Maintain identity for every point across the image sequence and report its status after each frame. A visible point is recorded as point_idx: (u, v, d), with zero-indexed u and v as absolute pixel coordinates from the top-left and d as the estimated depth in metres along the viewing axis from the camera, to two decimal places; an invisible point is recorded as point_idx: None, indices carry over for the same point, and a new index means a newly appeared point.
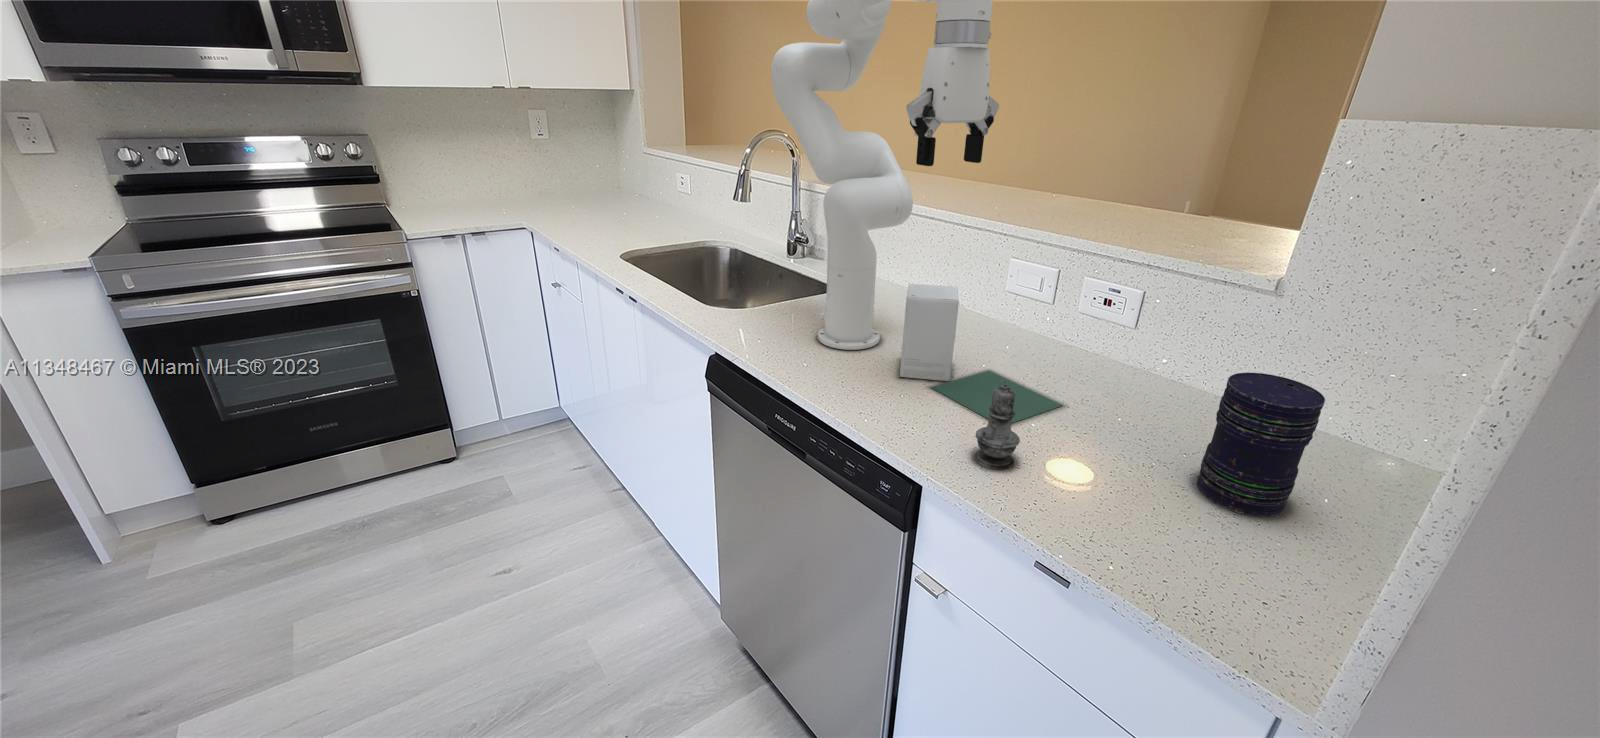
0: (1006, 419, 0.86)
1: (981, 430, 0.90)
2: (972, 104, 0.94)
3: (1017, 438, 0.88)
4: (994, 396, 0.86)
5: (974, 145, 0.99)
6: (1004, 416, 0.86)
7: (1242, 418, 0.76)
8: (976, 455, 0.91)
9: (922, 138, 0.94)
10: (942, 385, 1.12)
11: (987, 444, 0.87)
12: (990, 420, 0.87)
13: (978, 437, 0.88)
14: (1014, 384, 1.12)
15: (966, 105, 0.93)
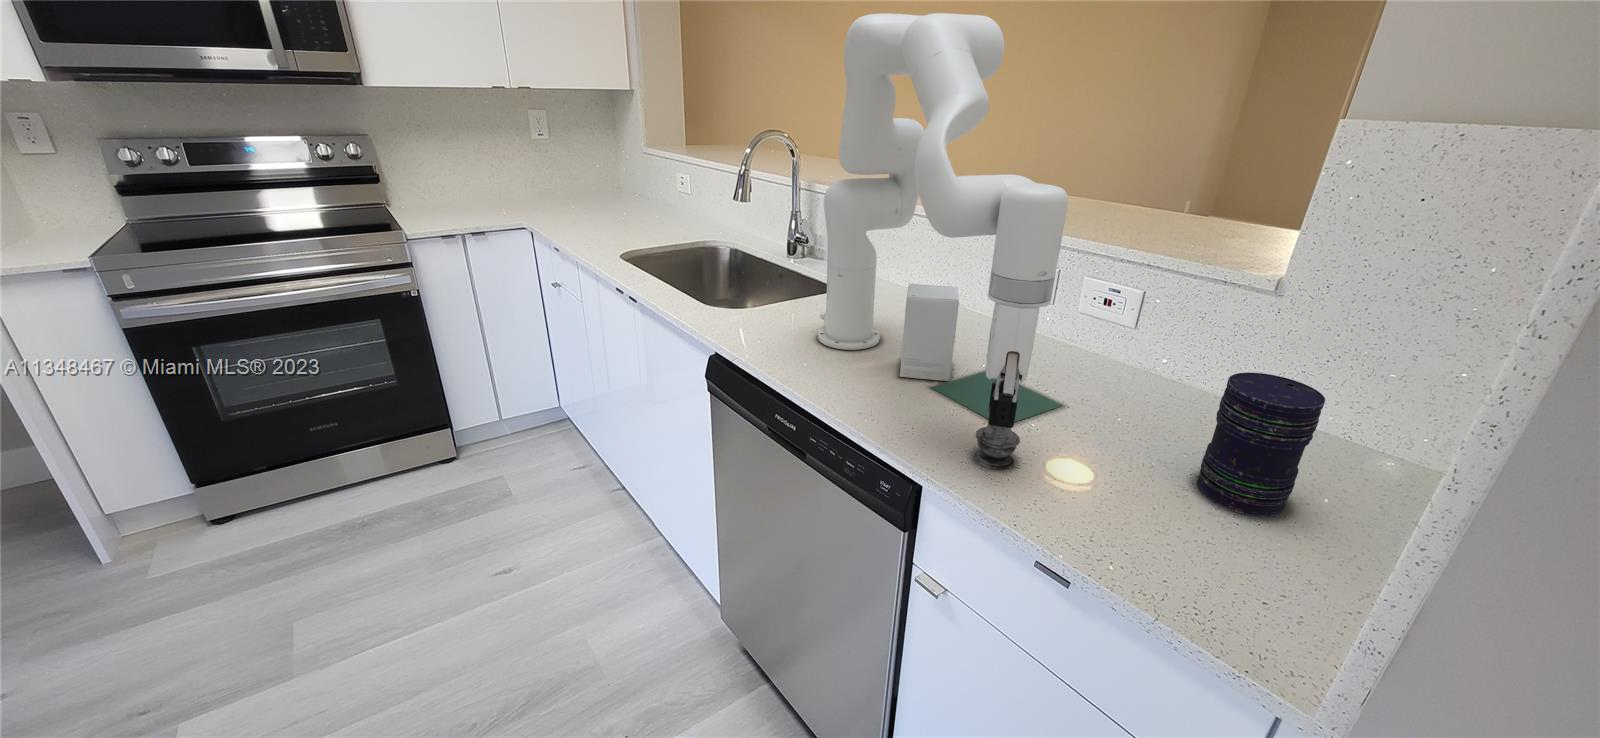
0: None
1: (981, 430, 0.90)
2: None
3: (1017, 438, 0.88)
4: None
5: None
6: None
7: (1242, 418, 0.76)
8: (976, 455, 0.91)
9: (1006, 403, 0.83)
10: (942, 385, 1.12)
11: (987, 444, 0.87)
12: None
13: (978, 437, 0.88)
14: None
15: None
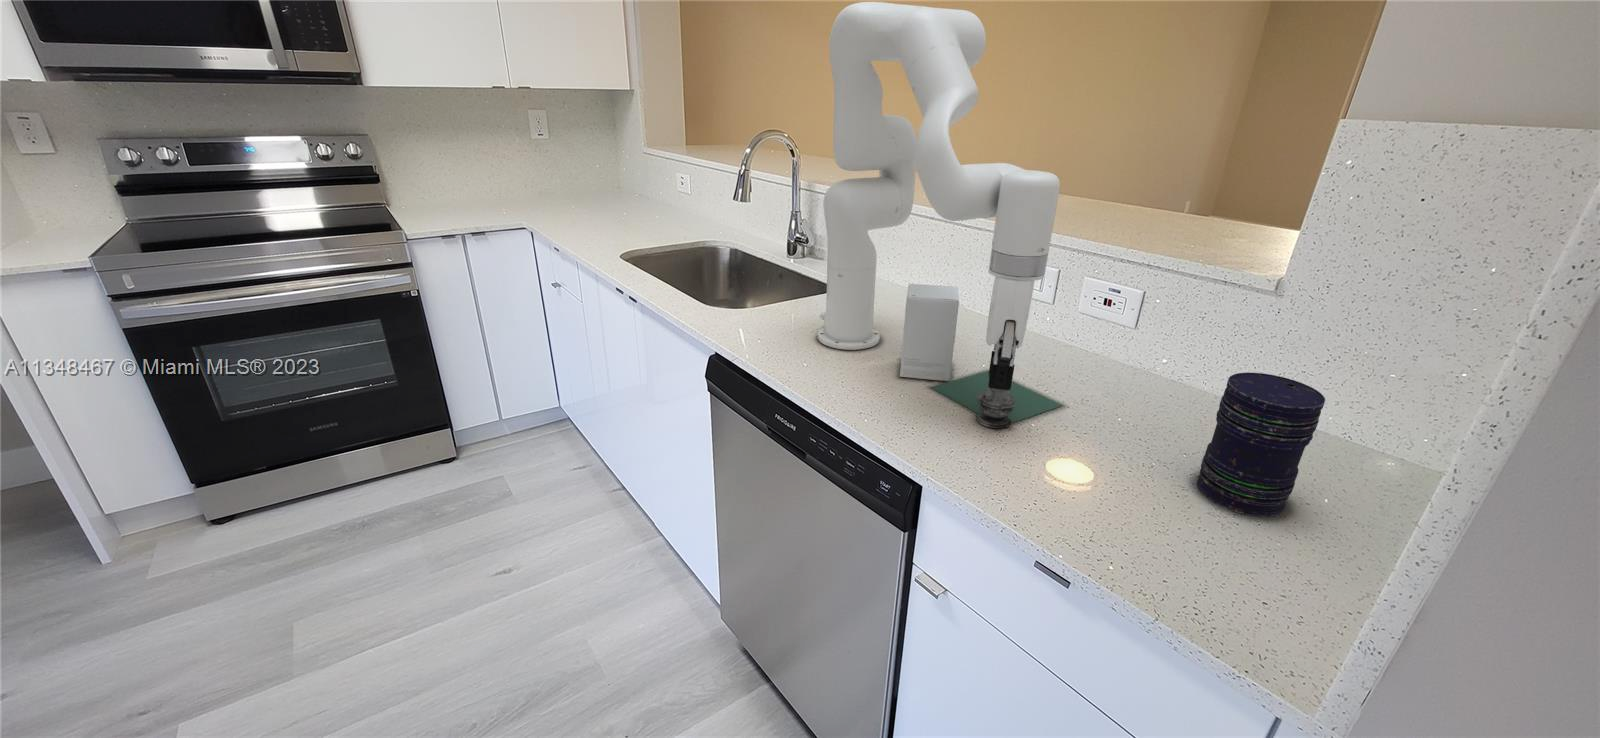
0: None
1: (982, 394, 1.00)
2: None
3: (1014, 400, 0.98)
4: None
5: None
6: None
7: (1242, 418, 0.76)
8: (977, 416, 1.01)
9: (1004, 367, 0.93)
10: (942, 385, 1.12)
11: (987, 405, 0.97)
12: None
13: (979, 399, 0.98)
14: (1014, 384, 1.12)
15: None
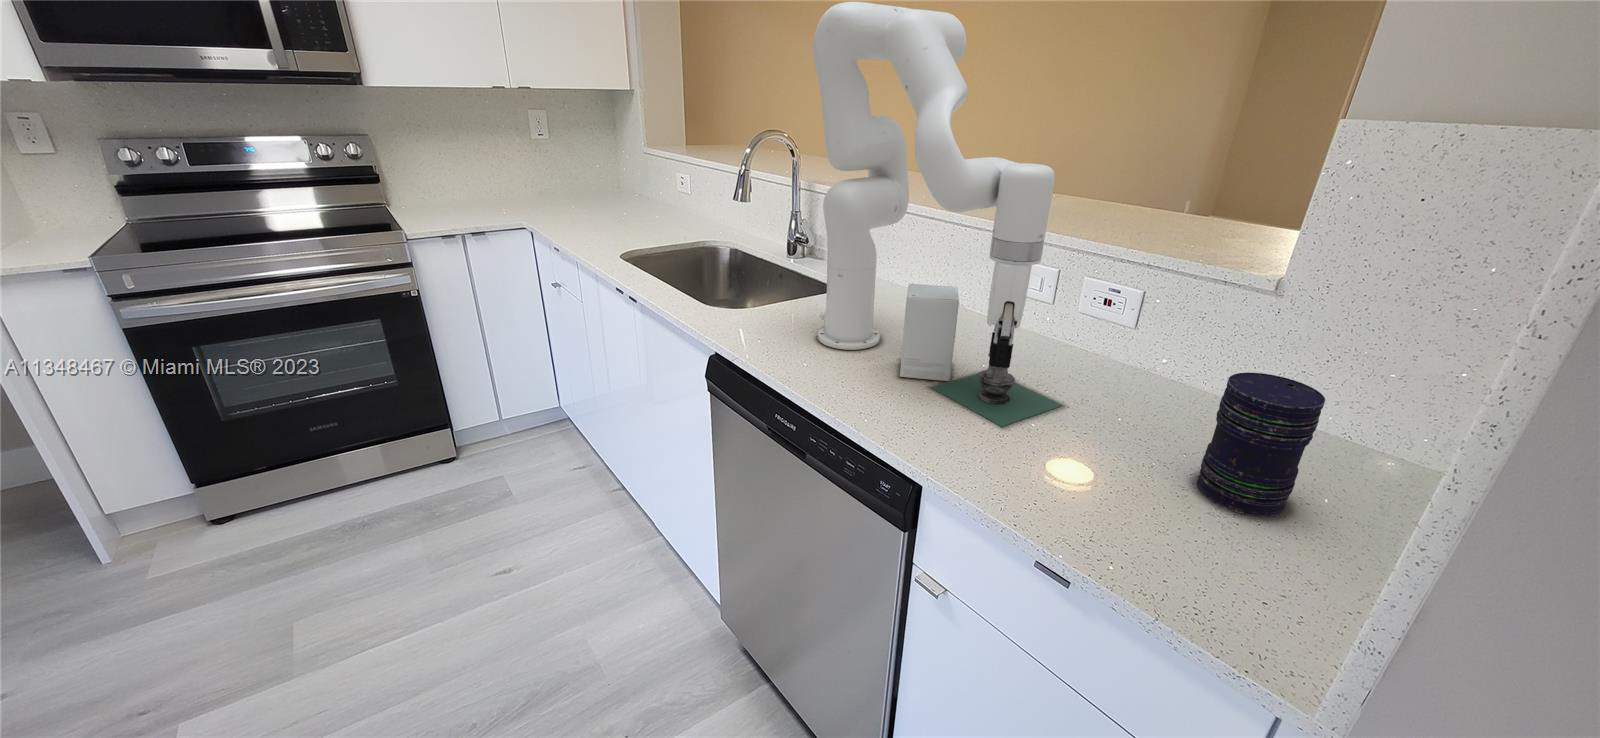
0: None
1: (983, 372, 1.07)
2: None
3: (1013, 378, 1.05)
4: None
5: None
6: None
7: (1242, 418, 0.76)
8: (978, 393, 1.08)
9: (1003, 346, 1.00)
10: (942, 385, 1.12)
11: (988, 382, 1.04)
12: None
13: (980, 377, 1.06)
14: (1014, 384, 1.12)
15: None
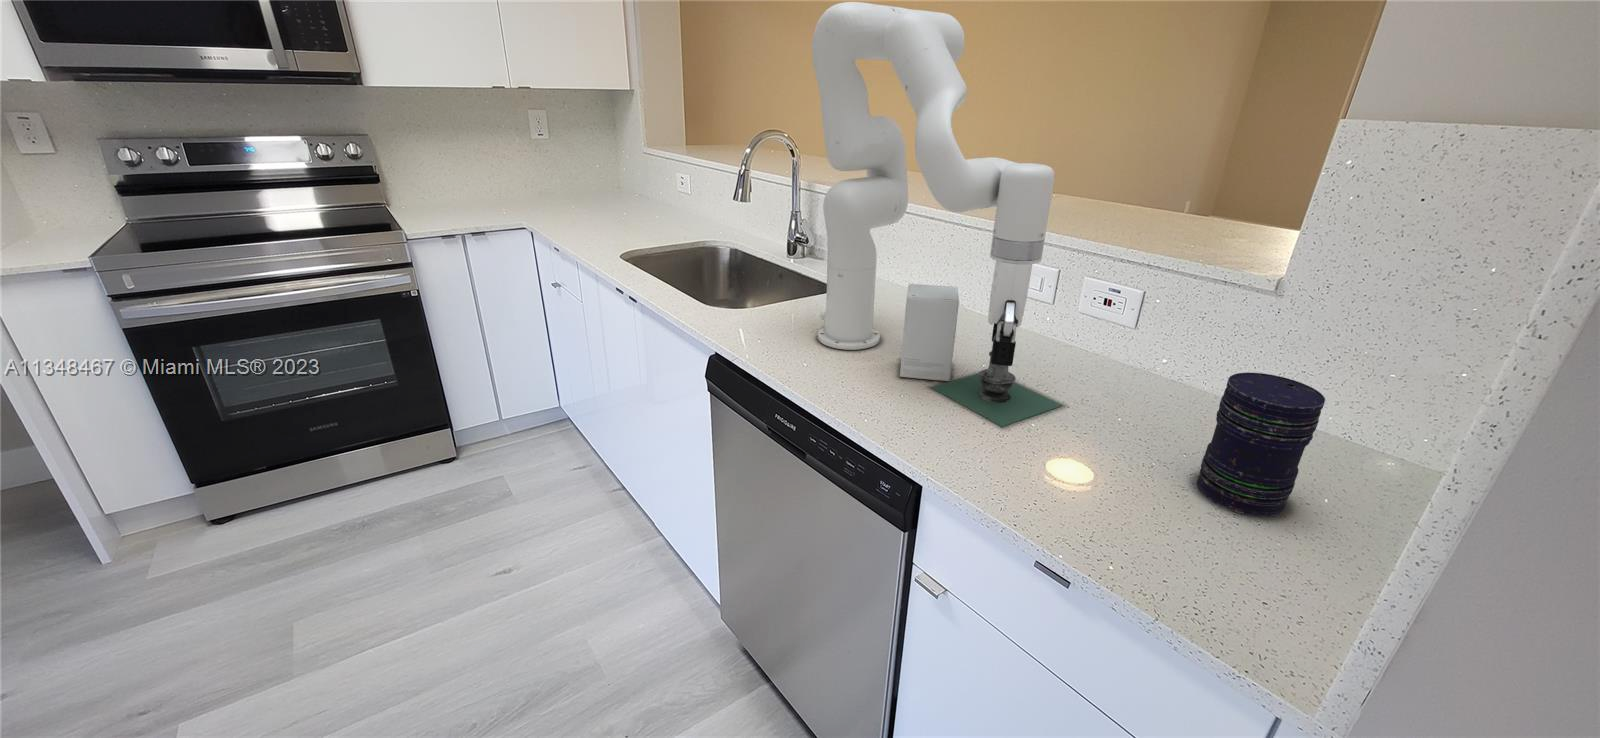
0: None
1: (983, 371, 1.08)
2: None
3: (1013, 377, 1.06)
4: None
5: None
6: None
7: (1242, 418, 0.76)
8: (979, 392, 1.09)
9: (1006, 344, 0.98)
10: (942, 385, 1.12)
11: (988, 381, 1.05)
12: None
13: (981, 376, 1.06)
14: (1014, 384, 1.12)
15: None
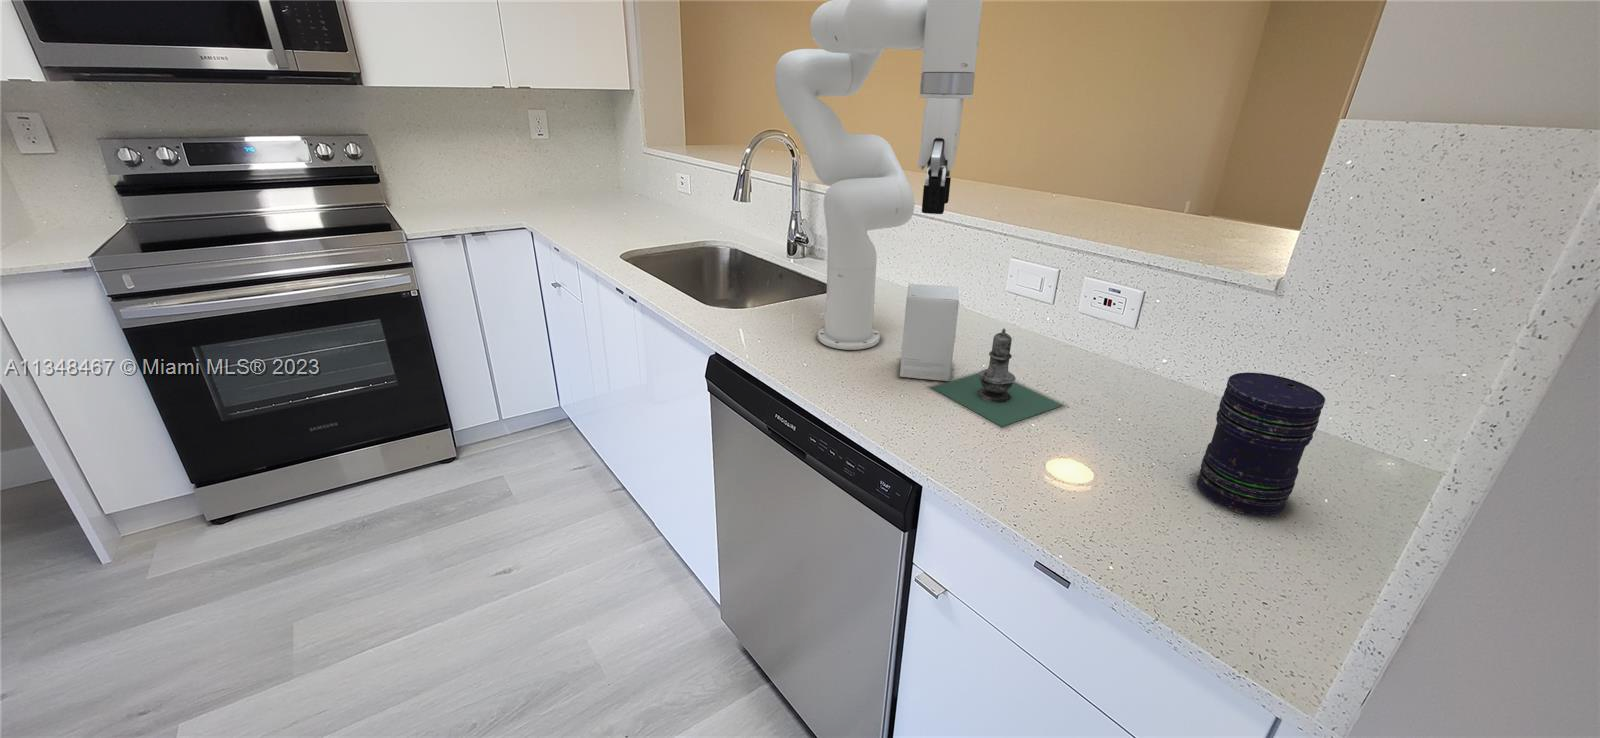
0: (1004, 360, 1.04)
1: (983, 371, 1.08)
2: None
3: (1013, 377, 1.06)
4: (994, 341, 1.04)
5: None
6: (1003, 357, 1.04)
7: (1242, 418, 0.76)
8: (979, 392, 1.09)
9: (935, 187, 0.93)
10: (942, 385, 1.12)
11: (988, 381, 1.05)
12: (991, 361, 1.05)
13: (981, 376, 1.06)
14: (1014, 384, 1.12)
15: (956, 151, 0.96)
